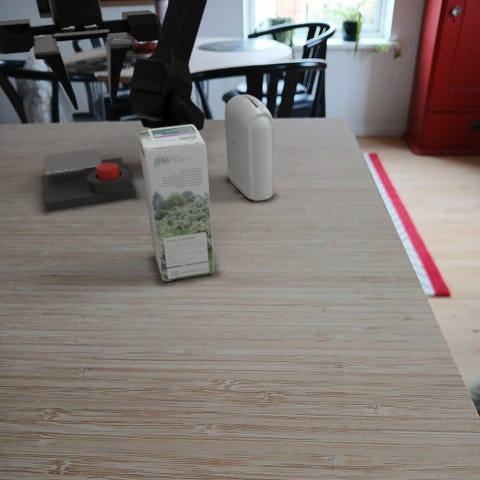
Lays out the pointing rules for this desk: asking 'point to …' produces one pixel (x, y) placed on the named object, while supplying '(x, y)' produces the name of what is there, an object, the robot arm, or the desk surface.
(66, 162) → the weighing pan
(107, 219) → the desk surface
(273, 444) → the desk surface
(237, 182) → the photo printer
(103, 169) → the button
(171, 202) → the syrup box
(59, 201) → the dark grey flat piece
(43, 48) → the robot arm
